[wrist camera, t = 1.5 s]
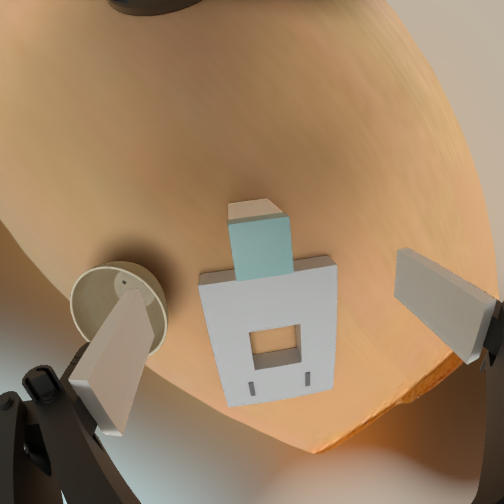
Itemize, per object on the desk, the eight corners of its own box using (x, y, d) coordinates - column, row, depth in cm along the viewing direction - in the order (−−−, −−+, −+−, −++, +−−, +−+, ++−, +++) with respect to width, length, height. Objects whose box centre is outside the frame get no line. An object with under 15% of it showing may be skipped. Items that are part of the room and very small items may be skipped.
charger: (227, 203, 28) (227, 224, 19) (267, 197, 28) (289, 216, 19) (232, 242, 29) (236, 281, 20) (272, 236, 30) (293, 273, 20)
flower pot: (196, 290, 31) (190, 326, 24) (140, 337, 32) (125, 374, 25) (133, 224, 28) (108, 243, 21) (82, 280, 29) (54, 308, 22)
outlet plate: (200, 273, 30) (197, 286, 27) (327, 255, 31) (337, 265, 28) (227, 391, 36) (228, 408, 33) (326, 374, 36) (333, 389, 33)
